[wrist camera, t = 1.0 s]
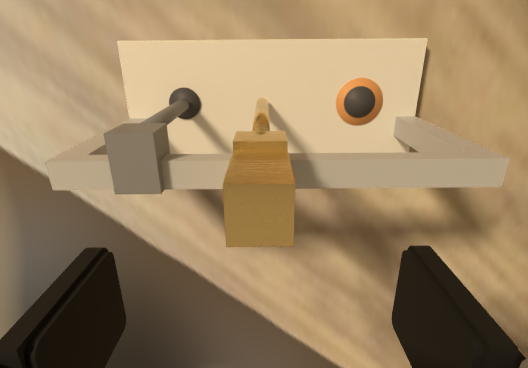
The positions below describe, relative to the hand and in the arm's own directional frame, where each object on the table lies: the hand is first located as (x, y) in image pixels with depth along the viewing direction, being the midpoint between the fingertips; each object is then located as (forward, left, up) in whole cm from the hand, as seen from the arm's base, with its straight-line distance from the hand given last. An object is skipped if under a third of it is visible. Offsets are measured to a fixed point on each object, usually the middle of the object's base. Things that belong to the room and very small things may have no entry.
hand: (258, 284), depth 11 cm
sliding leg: (0, 0, -26) cm, 26 cm away
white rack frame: (-2, +1, -28) cm, 28 cm away
